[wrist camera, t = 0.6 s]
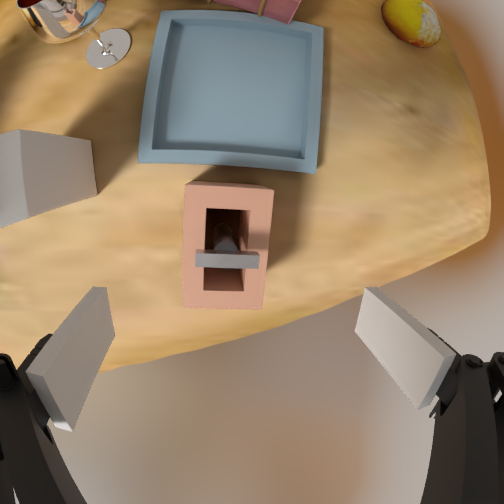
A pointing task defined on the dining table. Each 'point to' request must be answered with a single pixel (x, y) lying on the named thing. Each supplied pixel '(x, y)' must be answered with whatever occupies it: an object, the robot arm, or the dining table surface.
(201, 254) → the grey t-shaped piece
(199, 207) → the pink window frame
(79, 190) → the milk carton
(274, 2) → the book
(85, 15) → the wineglass
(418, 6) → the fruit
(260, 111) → the tray
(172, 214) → the dining table surface
